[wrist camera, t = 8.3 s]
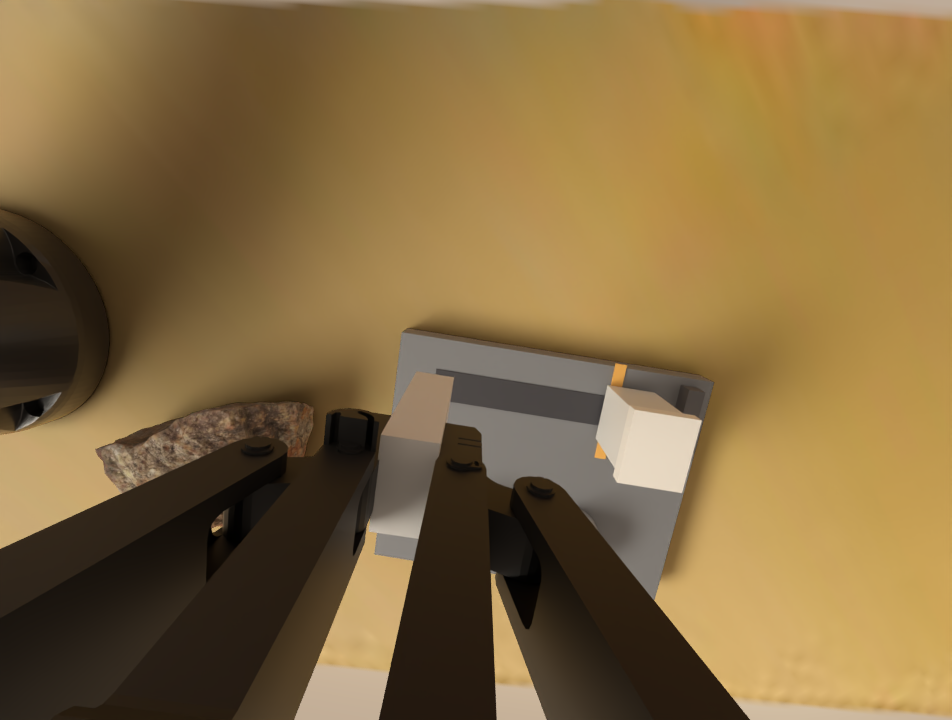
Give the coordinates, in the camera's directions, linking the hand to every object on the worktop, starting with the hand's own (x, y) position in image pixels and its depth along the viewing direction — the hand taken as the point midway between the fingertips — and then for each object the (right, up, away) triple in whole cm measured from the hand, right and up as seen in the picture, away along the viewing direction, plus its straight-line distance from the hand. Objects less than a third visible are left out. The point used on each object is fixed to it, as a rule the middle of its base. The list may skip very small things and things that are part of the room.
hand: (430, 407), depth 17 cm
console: (+6, -5, +14) cm, 16 cm away
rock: (-16, -5, +15) cm, 22 cm away
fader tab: (+11, -2, +11) cm, 16 cm away
